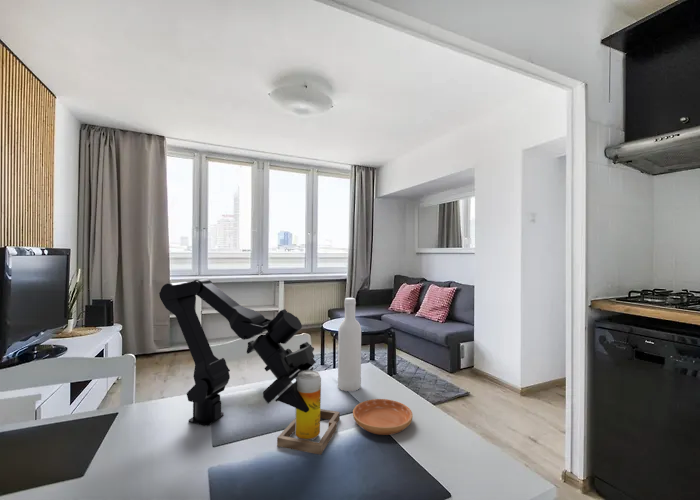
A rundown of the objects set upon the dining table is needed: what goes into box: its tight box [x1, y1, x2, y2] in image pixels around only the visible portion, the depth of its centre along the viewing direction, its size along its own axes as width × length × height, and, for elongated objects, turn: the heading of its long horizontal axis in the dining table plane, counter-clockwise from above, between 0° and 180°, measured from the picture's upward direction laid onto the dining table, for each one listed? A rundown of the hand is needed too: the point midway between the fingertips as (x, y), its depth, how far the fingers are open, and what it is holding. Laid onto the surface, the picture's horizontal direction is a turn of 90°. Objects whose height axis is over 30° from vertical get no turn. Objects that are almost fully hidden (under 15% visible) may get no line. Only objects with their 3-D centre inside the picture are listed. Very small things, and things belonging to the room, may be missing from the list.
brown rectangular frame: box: [276, 408, 341, 455], centre depth 83 cm, size 11×16×2 cm
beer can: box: [294, 369, 322, 442], centre depth 80 cm, size 6×6×15 cm
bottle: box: [337, 297, 362, 392], centre depth 111 cm, size 8×8×30 cm
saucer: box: [352, 398, 414, 436], centre depth 88 cm, size 16×16×3 cm
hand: (313, 405), depth 80 cm, fingers closed on beer can, 6 cm apart
